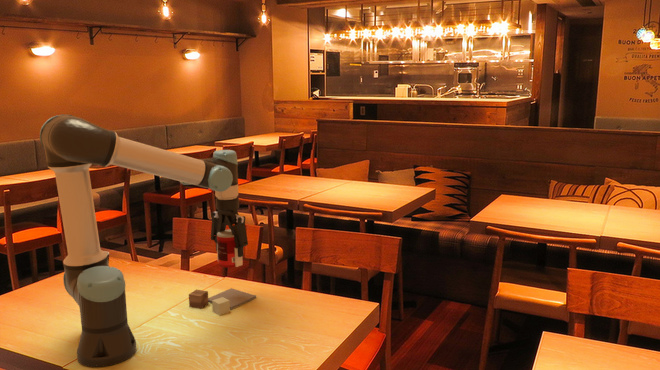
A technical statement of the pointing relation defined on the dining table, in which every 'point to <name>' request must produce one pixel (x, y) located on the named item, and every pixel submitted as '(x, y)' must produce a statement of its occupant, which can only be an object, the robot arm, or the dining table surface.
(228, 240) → the canned food
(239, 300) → the slate coaster
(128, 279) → the dining table surface
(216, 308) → the beige block
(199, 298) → the walnut block
